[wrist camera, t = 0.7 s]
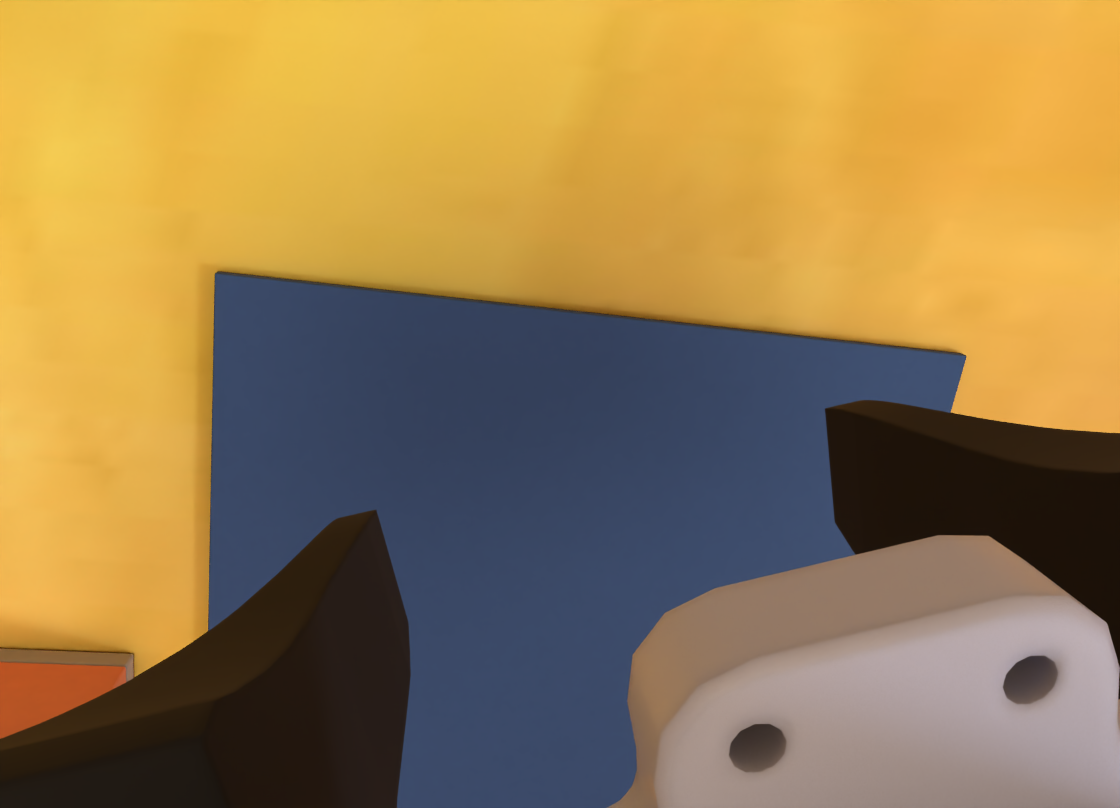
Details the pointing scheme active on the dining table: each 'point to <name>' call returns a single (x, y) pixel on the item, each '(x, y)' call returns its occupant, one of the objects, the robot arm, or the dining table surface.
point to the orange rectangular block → (54, 683)
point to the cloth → (527, 497)
